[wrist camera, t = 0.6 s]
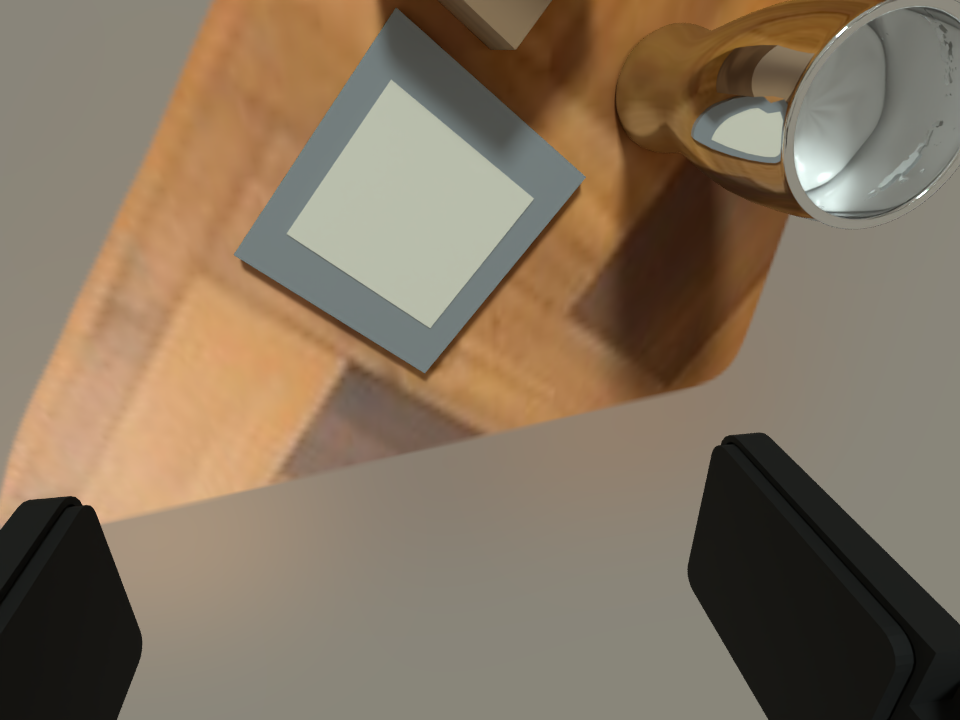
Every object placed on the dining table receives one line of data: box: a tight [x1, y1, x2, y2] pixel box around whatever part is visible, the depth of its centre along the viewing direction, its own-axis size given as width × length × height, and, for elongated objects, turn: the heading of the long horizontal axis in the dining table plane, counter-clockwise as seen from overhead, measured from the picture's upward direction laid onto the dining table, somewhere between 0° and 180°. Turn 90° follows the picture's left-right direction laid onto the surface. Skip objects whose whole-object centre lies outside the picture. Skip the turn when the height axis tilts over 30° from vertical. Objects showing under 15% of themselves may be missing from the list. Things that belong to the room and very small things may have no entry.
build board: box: [234, 8, 586, 373], centre depth 31 cm, size 14×12×1 cm
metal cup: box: [616, 0, 960, 229], centre depth 25 cm, size 7×7×15 cm
